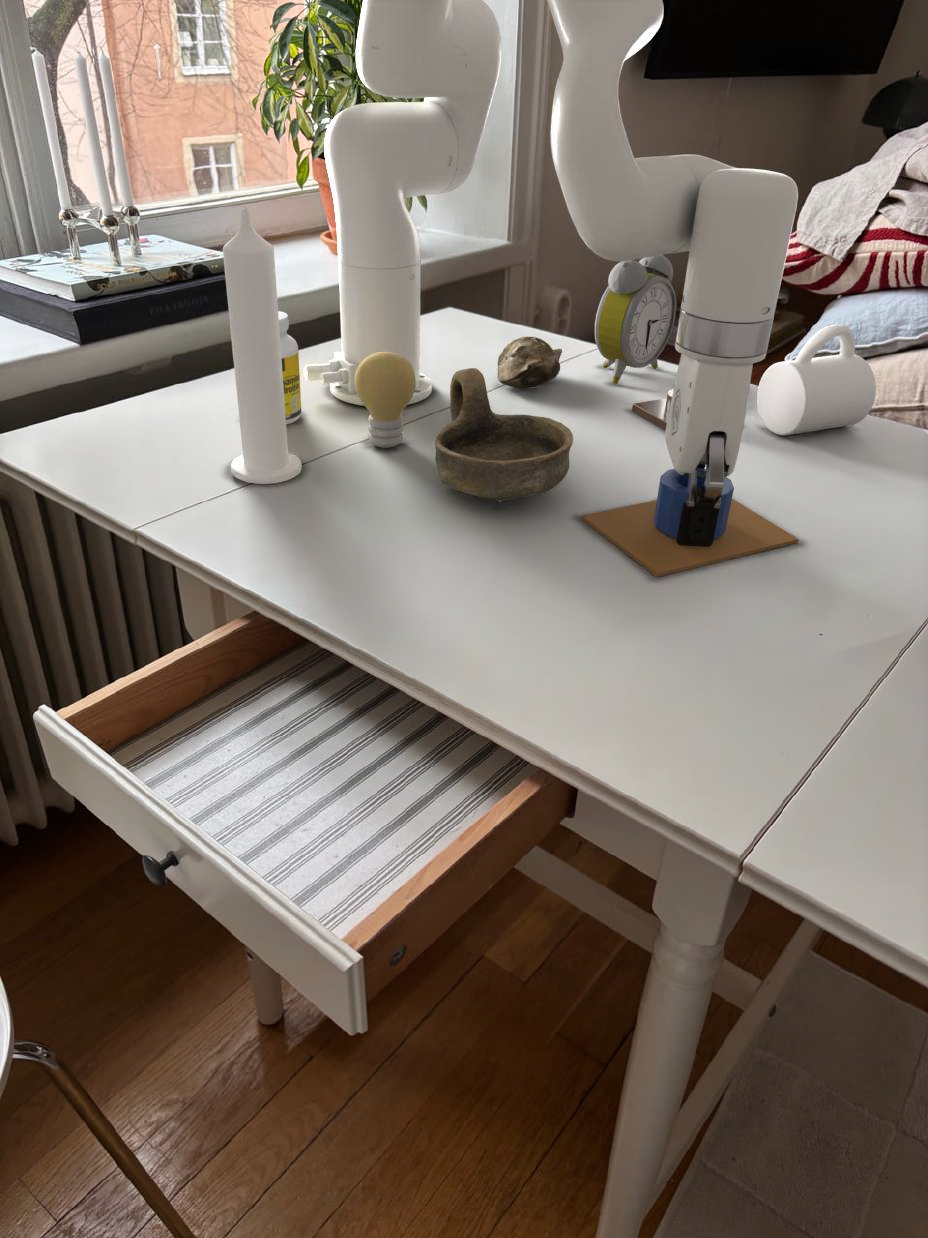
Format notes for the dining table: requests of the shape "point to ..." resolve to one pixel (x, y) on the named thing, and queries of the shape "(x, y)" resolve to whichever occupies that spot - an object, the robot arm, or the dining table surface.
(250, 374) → the candle
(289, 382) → the pill bottle
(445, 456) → the bowl
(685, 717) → the dining table surface
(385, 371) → the light bulb
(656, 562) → the mat
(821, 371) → the mug
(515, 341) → the fossilized seashell
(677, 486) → the blue hollow cylinder
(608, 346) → the alarm clock
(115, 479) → the dining table surface
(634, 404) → the dowel stand
